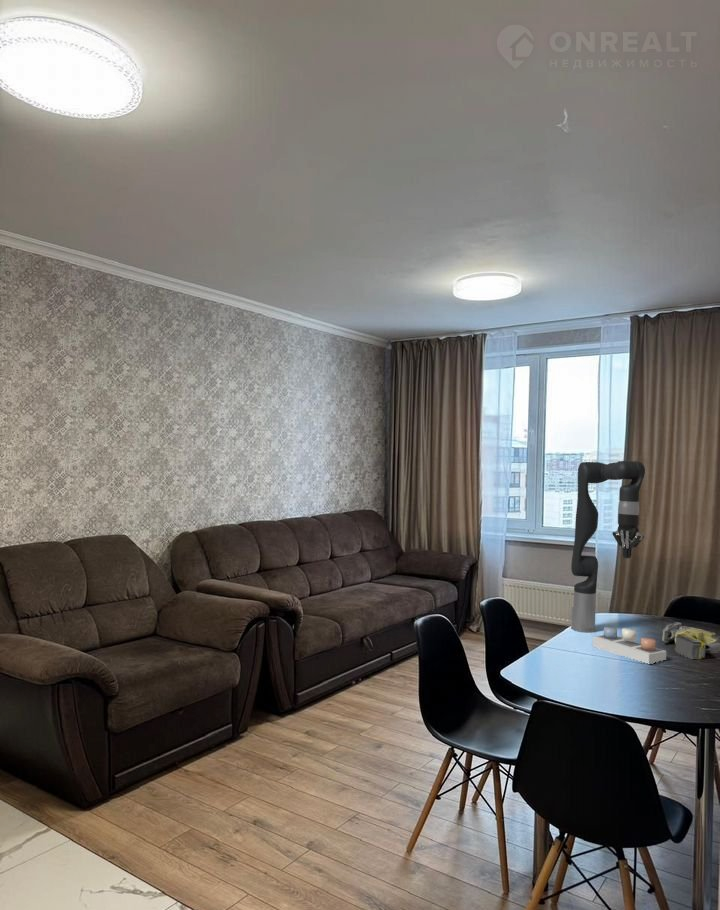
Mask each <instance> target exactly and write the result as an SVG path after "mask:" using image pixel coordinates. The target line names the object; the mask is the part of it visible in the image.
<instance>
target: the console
mask: <svg viewBox="0 0 720 910" xmlns="http://www.w3.org/2000/svg"><path fill="white" fill-rule="evenodd" d="M592 639H593V640H592V647H593V648H597V649H599V650H602V651H605V652H608V653H611V654H615V655H618V656H621V657H622V656H625V657H624V658H626V657H628V658H627V659H629V658H631V659H630V660H633V659H635V660H634V661H636V660H638V661H637V662H640V661H642V662H641V663H643V662H645V663H648V664H650V663H655V662H656V663H660V662H659V661H661V662H664V661H663V660H666V661H667V650H664V649H661V648H657V647H656V650H655V651H647V650H643V649H641V642H638V641H636V640H635V641H628V640H624V639H622V636H618V635H617V639H608V638H605V637H604V634H601V635H596V636H593V638H592Z"/></svg>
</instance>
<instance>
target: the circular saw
mask: <svg viewBox="0 0 720 910" xmlns="http://www.w3.org/2000/svg"><path fill="white" fill-rule="evenodd" d="M673 640H674V644H675V648H674V651H675V653H676V652H677V653H676V654H678V653H679V654H678V655H680V654H681V656H682V655H684V656H685V658H686V657H688V658H687V659H689V658H690V659H689V660H691V659H703V658H704V659H705V657H706V653H716V652H720V635H718V634H717V633H715V632H711V631H708V630H704V629H703V628H697V627H696V628H695V627H691V626H686V625H684V626H682V622H678V621H676V622H673V623H669V624H666V625H665V627H664V628H663V630H662V636H661V641H662V642H663V643H664V644H665V643H666V645H668V644H670V643H671V642H672V641H673ZM670 641H671V642H670ZM684 656H683V657H684Z"/></svg>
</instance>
